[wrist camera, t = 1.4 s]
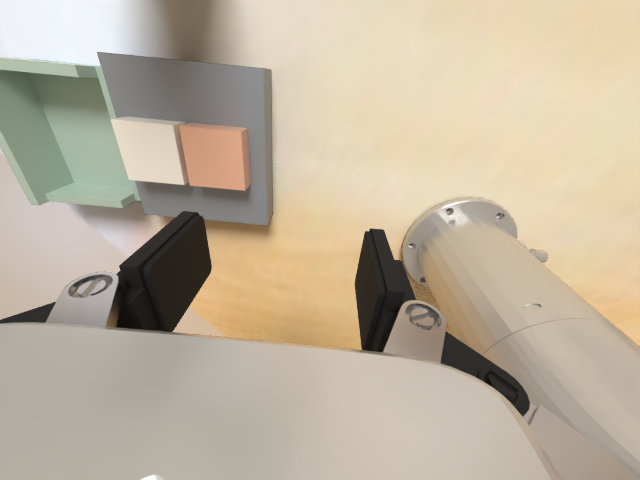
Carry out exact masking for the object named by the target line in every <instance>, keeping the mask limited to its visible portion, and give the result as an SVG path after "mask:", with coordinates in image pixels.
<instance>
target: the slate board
mask: <svg viewBox="0 0 640 480" xmlns="http://www.w3.org/2000/svg"><path fill="white" fill-rule="evenodd" d="M97 54H98V58H99V61H100V64H101V68H102V71H103V75H104V78H105V81H106V85H107V88H108V91H109V95H110V98H111V102H112V105H113V108H114V112H115V115H116V118H121V117H137V118H148V119H158V120H169V121H179V122H185V124H187V123H200V124H210V125H221V126H231V127H241V128H248V140H249V157H250V175H251V184H250V185H249V186H248V188H247V189H246V190H245V191H243V190H232V189H222V188H211V187H200V186H190V183H189V182H188V183H186V184H185V185H179V184H168V183H158V182H147V181H136V180H135V183H136V186H137V190H138V193H139V197H140V200H141V203H142V207H143V210H144V214H148V215H159V216H170V217H177V216H178V215H179V214H180V213H181V212H183V211H190V212H198V213H199V215H200V216H203V218H204V220H213V221H224V222H235V223H245V224H256V225H268V223H269V221H270V219H271V216H272V214H273V183H272V97H271V70H270V69H265V68H256V67H246V66H236V65H225V64H215V63H205V62H195V61H185V60H175V59H164V58H154V57H144V56H134V55H124V54H113V53H103V52H97Z"/></svg>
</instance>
